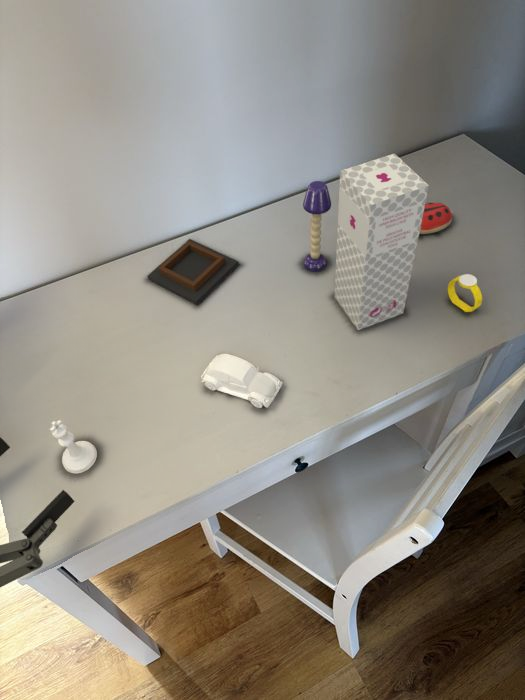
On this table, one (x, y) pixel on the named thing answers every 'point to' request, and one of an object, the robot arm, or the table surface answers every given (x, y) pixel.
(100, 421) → the table surface
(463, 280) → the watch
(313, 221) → the toy lamp
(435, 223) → the ladybug figurine
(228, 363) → the car
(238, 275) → the table surface
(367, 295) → the box
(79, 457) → the chess piece
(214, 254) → the socket pad
